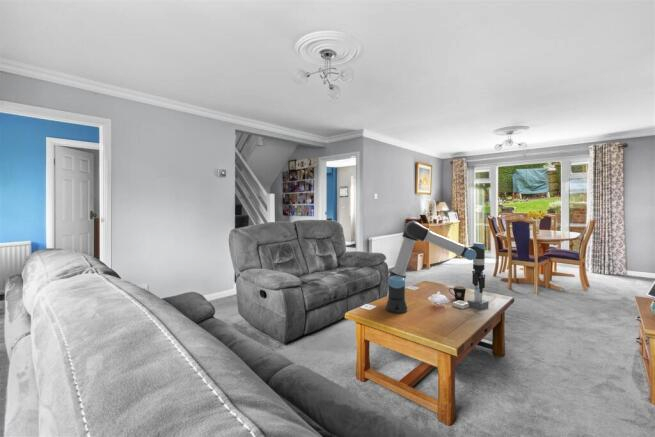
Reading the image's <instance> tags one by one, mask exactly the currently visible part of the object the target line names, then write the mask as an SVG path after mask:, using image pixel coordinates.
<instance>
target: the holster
mask: <svg viewBox="0 0 655 437" xmlns="http://www.w3.org/2000/svg"><path fill="white" fill-rule="evenodd" d="M452 307H454V308H458V309H461V310H464V309H466V308H467V309H468V308H469V307H470V306H469V303H468V301H465V300H456V301H453V302H452Z"/></svg>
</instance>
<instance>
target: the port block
mask: <svg viewBox="0 0 655 437" xmlns="http://www.w3.org/2000/svg"><path fill="white" fill-rule="evenodd" d="M474 299H475V297H473V298H470V299H468V300H467V303H469V307H470V308H474V309H477V310H484V309H486V308H489V300H485V299H482V301H481V302H477V301H474Z"/></svg>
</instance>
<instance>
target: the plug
mask: <svg viewBox="0 0 655 437" xmlns="http://www.w3.org/2000/svg"><path fill="white" fill-rule="evenodd" d="M478 288H479V286H478V287H476V288H475V295H474V298H475V299H474V301H477V302H481V301H482V300H483V296H482V297H478Z"/></svg>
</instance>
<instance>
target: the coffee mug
mask: <svg viewBox="0 0 655 437" xmlns="http://www.w3.org/2000/svg"><path fill="white" fill-rule="evenodd" d="M466 289H467V288H466V287H465V286H462V285H454V286H453V287H450V288H449V289H448V293H450V294H451V295H453V296H454V300H456V301H458V300H460V301H465V296H466ZM451 290H453V291H454V292H453V293H454V294H453V293H452V292H451Z"/></svg>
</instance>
